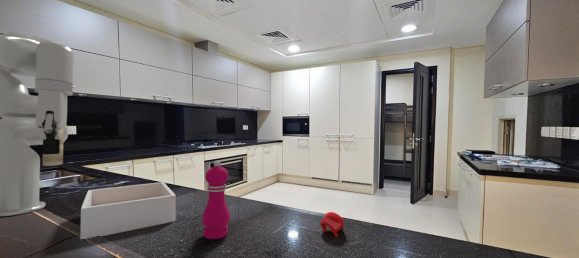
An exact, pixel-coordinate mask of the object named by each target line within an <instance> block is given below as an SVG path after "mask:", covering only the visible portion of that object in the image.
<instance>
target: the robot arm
mask: <svg viewBox="0 0 579 258" xmlns="http://www.w3.org/2000/svg"><path fill="white" fill-rule="evenodd" d="M14 75H17V76H22V77H23V76H24V77H29V78H30V77H31V78H34V93H37V94H38V95H31V94H30V92H29V89H28V87H27V85H25V83H24V82H22V81H21V80H20V79H19V78H17V77H16V76H14ZM73 78H74V51H73V50H72V48H70V47H69V46H66V45H63V44H61V43H57V42H55V41H53V40H51V39H50V40H49V39H45V38H43V37H38V36H34V35H30V34H26V33H22V32H18V31H17V32H15V31H14V32H13V31H11V32H6V33H4V34H2V35H1V36H0V118H1V119H0V217H9V216H17V215H23V214H28V213H32V212H35V211H39V210H41V209H43V208H44V207H45V206H46V202H44V201H41V200H40V183H41V182H40V180H41V179H40V175H41V173H40V172H41V158H40V155H39V154H38V153H37V152H36V151H35V150H34V149H32V147H30V146H38V145H42V155H43V154H44V155H46V154H59V153H60V140H58V137H59V128H63V127H64V134H63V143H65V141H66V140H67V139H68V137H69V129H68V126H67V121H68V120H67V119H68V97H69V96H73V94H74V93H73V92H74V91H73V89H74V84H73V83H74V79H73ZM56 122H57V125H56ZM43 126H44V136H43ZM53 126H56V128H53ZM43 139H44V140H43Z"/></svg>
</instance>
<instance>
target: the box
mask: <svg viewBox="0 0 579 258" xmlns="http://www.w3.org/2000/svg"><path fill="white" fill-rule="evenodd" d="M176 199H177V195H176V194H175V193H174V192H173V190H172V189H170V187H168V185H167V184H166V183H165V182H164V181H161V182H153V183H143V184H142V183H141V184H134V185H133V184H132V185H125V186H117V187H114V186H113V187H105V188H97V189H88V191H87V193H86V195H85V198H84V200H83V202H82V205H81V208H80V235H79V237H80V238H79V239H86V238H90V237H95V236H100V237H103V236H104V237H105V236H111V235H114V234H120V233H124V232H129V231H134V230H140V229H144V228H148V227H154V226H158V225H162V224H163V225H164V224H169V223H173V222H176V217H177V216H176V209H177V206H176V205H177V202H176V201H177V200H176ZM95 238H96V237H95ZM90 239H91V238H90ZM86 240H87V239H86Z"/></svg>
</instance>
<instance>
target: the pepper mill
mask: <svg viewBox="0 0 579 258" xmlns="http://www.w3.org/2000/svg"><path fill="white" fill-rule="evenodd" d="M221 164H222V163H221V162H220V161H219V160H216V161H214V162H213V166H211V167H210V168H209V169H207V171H206V173H205V175H204V177H205V181H206V183H207V185H206V187H207V189H206V190H207V192H208V201H207V203H206V206H205V209H204V211H203V214H202V218H201V222H202V224H203V226H204V228H203V237H204V238H206V239H208V240H219V239H223V238H224V237H226V236H227V235H228V233H229V227H228V223H229V222H230V220H231V214H230V209H229V208H228V205H227V203H226V202H227V201H226V198H225V191H226V190H227V187H226V186H227V184H226V182H228V179H229V171H228V169H226V168H225V167H222V166H221Z"/></svg>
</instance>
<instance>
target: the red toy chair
mask: <svg viewBox="0 0 579 258" xmlns="http://www.w3.org/2000/svg"><path fill="white" fill-rule="evenodd" d="M344 223H345V219H344V218H343V217H341V215H339V214H338V213H337V212H332V211H329V212H326V213H325V214H324V216H323V217H322V219H321V220H320V226H321V228H322V231H323V233H327V229H326V228H329V229H330V230H331V232H332V233H333V236H334V237H335V238H338V237H339V235H338V233H337V232H339V231H344Z"/></svg>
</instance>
